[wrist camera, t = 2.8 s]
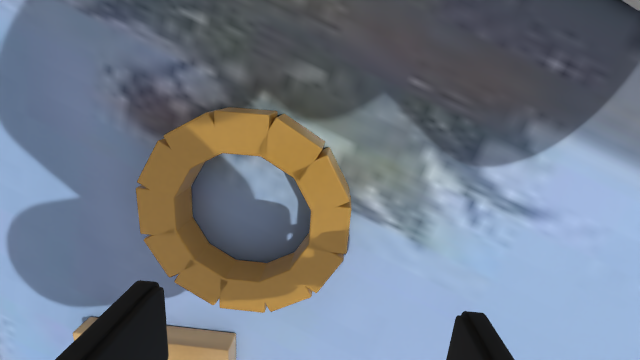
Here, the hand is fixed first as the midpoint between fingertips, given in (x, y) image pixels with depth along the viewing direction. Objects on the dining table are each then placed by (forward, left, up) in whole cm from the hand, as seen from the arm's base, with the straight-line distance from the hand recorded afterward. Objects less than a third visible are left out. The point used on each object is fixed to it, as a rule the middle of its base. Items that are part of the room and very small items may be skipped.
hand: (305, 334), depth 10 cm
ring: (-1, -4, -9) cm, 9 cm away
